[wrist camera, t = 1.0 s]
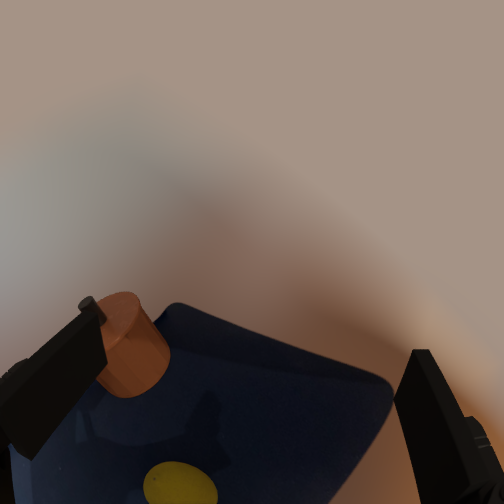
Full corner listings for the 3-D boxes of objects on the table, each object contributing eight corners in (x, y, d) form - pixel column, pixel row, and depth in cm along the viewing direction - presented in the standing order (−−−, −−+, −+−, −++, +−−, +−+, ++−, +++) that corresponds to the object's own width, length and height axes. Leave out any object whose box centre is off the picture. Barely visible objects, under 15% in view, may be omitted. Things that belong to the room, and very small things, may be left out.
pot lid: (121, 289, 45) (105, 264, 42) (159, 312, 36) (139, 282, 34) (62, 339, 38) (43, 316, 36) (85, 379, 30) (59, 351, 27)
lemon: (169, 495, 23) (117, 467, 19) (213, 469, 25) (169, 436, 21) (193, 537, 18) (139, 521, 14) (242, 510, 20) (199, 488, 16)
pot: (146, 328, 48) (118, 288, 44) (185, 355, 40) (152, 310, 36) (96, 373, 42) (62, 336, 38) (125, 412, 34) (83, 371, 30)
